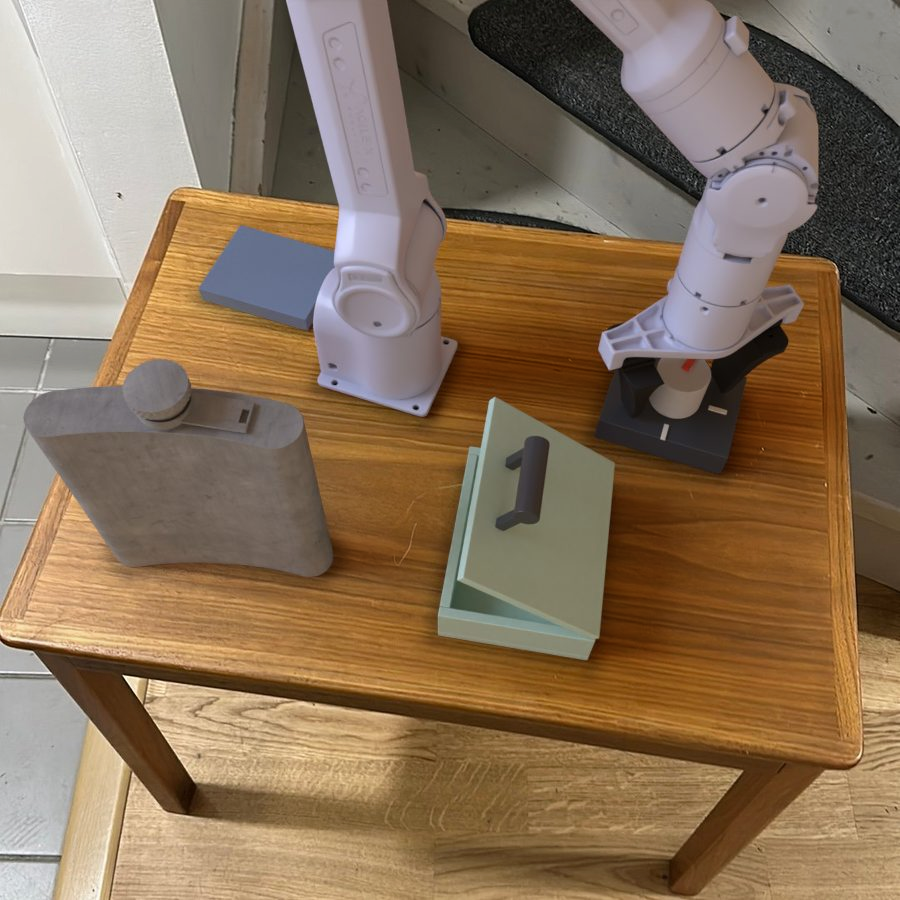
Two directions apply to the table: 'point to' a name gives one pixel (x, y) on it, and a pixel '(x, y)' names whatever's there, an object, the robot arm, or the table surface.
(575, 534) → the box lid
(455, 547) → the open box
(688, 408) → the dial
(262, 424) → the hip flask
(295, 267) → the flat blue-gray rectangular slab
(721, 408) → the console
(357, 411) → the table surface
